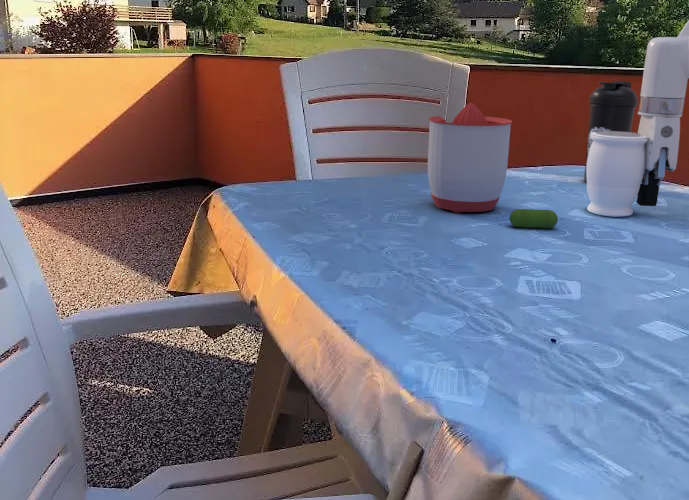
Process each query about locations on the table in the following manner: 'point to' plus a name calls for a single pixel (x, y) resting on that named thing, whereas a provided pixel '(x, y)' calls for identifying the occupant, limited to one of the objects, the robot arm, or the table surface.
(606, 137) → the jar
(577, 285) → the table surface
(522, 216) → the pickle
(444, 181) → the citrus juicer
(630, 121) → the water bottle
